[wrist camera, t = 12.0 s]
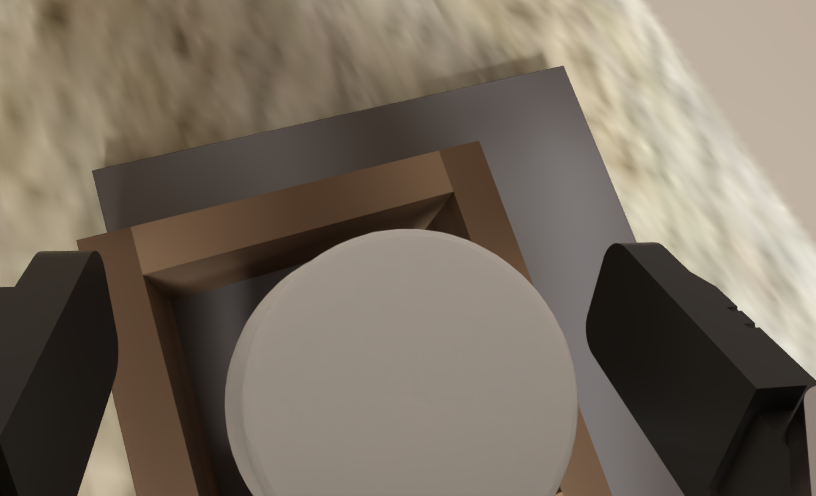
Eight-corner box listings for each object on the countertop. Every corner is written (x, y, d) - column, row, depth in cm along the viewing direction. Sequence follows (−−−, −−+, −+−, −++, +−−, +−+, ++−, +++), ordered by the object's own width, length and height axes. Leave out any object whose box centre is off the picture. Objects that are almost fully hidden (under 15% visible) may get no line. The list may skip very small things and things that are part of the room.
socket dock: (247, 763, 14) (232, 899, 10) (103, 184, 16) (47, 115, 12) (732, 531, 17) (860, 566, 13) (549, 82, 20) (612, 3, 16)
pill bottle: (297, 274, 16) (305, 131, 8) (468, 344, 16) (647, 277, 8) (213, 461, 14) (118, 525, 6) (404, 533, 15) (544, 682, 7)
